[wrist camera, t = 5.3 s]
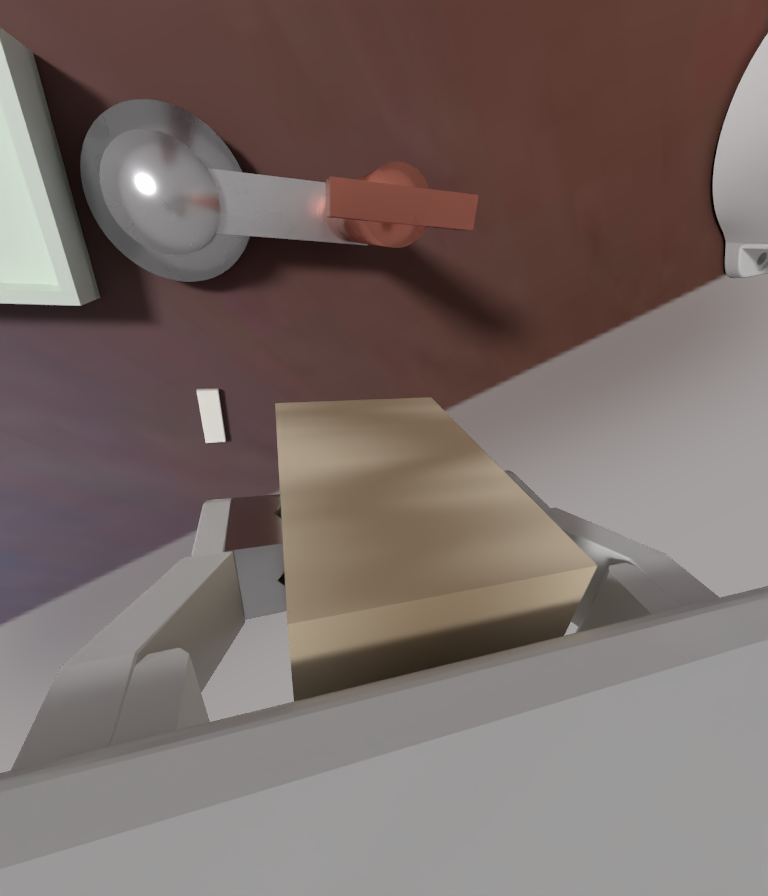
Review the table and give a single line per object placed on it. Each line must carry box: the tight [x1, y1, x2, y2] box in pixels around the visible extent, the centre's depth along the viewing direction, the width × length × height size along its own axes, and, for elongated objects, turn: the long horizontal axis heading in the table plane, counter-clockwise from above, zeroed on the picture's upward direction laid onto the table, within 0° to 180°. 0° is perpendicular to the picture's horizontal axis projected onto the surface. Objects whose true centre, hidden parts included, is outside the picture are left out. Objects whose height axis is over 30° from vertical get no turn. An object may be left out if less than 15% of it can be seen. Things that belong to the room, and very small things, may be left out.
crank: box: [99, 129, 479, 255], centre depth 14 cm, size 12×4×10 cm, turn 86°
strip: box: [197, 389, 226, 443], centre depth 24 cm, size 1×4×1 cm, turn 176°
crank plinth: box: [80, 99, 250, 282], centre depth 18 cm, size 7×7×1 cm
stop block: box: [275, 397, 597, 702], centre depth 8 cm, size 4×4×6 cm
